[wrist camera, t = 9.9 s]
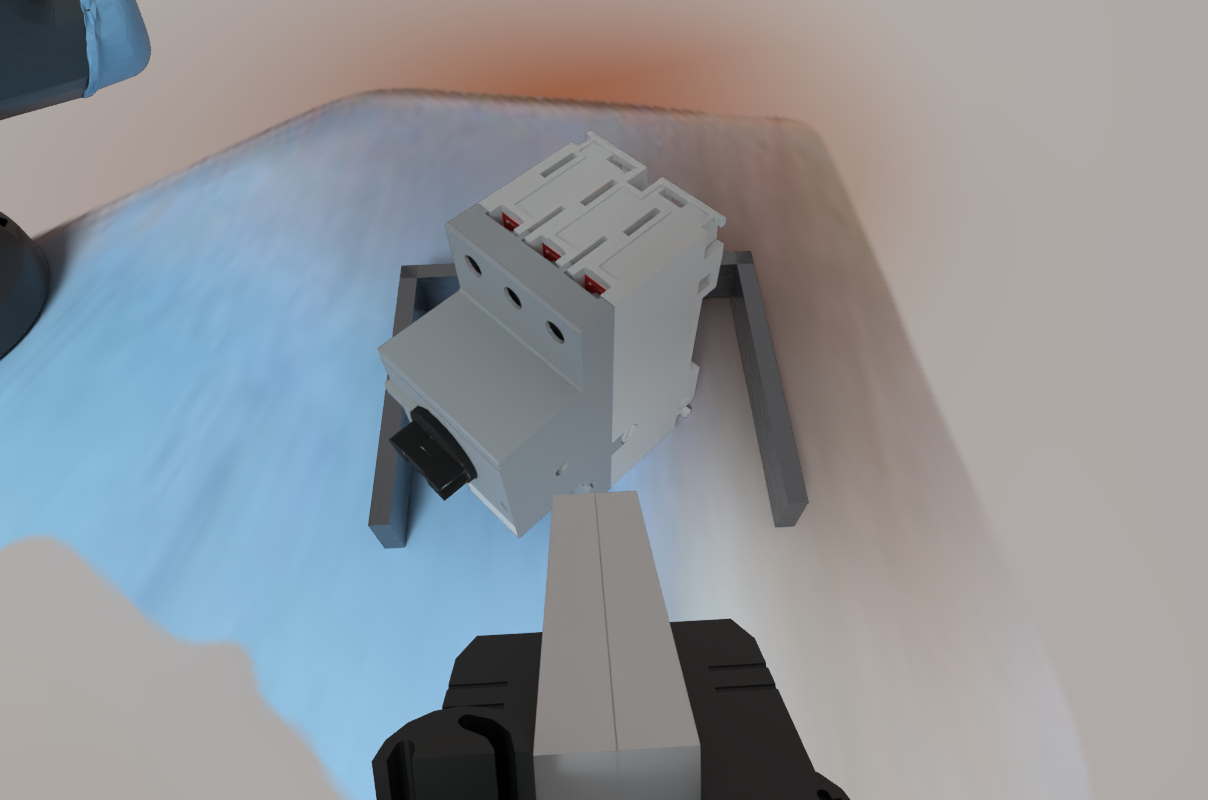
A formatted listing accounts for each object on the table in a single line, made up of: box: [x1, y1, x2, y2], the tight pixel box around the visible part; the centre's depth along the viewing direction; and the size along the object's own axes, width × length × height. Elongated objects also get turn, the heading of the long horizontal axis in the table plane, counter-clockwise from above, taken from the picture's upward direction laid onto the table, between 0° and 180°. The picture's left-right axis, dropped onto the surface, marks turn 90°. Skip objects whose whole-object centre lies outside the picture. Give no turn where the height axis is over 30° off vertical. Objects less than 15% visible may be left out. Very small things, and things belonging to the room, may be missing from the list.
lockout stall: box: [368, 251, 808, 548], centre depth 39 cm, size 17×21×3 cm
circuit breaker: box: [377, 131, 726, 538], centre depth 33 cm, size 8×14×15 cm, turn 135°
